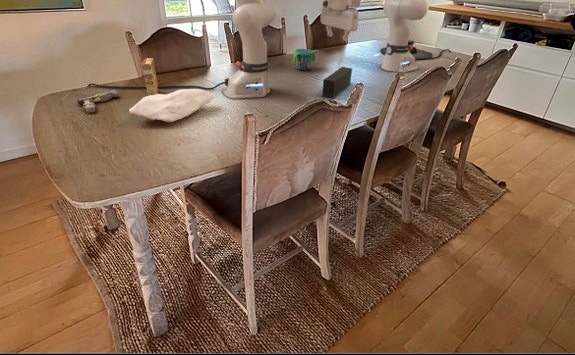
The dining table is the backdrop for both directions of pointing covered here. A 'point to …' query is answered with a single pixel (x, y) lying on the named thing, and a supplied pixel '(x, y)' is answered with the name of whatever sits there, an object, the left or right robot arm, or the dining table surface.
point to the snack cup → (303, 58)
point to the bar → (336, 82)
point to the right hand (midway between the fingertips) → (339, 16)
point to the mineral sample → (414, 51)
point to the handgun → (95, 100)
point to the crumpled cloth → (171, 104)
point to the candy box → (150, 76)
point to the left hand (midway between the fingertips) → (337, 38)
